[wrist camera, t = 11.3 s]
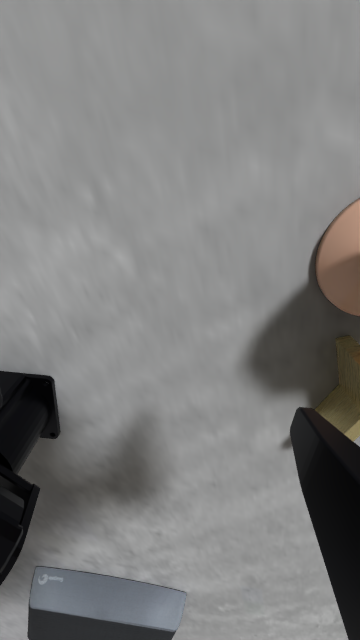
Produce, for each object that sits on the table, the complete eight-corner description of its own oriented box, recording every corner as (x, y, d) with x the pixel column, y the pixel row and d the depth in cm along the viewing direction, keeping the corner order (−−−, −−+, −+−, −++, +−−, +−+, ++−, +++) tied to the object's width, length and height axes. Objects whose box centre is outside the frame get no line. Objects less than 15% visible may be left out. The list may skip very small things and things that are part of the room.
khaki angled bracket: (335, 425, 25) (356, 461, 21) (304, 422, 25) (321, 457, 21) (372, 337, 21) (404, 365, 18) (337, 334, 21) (362, 361, 18)
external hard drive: (38, 558, 36) (20, 601, 32) (188, 585, 38) (188, 629, 34) (34, 606, 42) (18, 647, 38) (165, 628, 43) (163, 670, 39)
